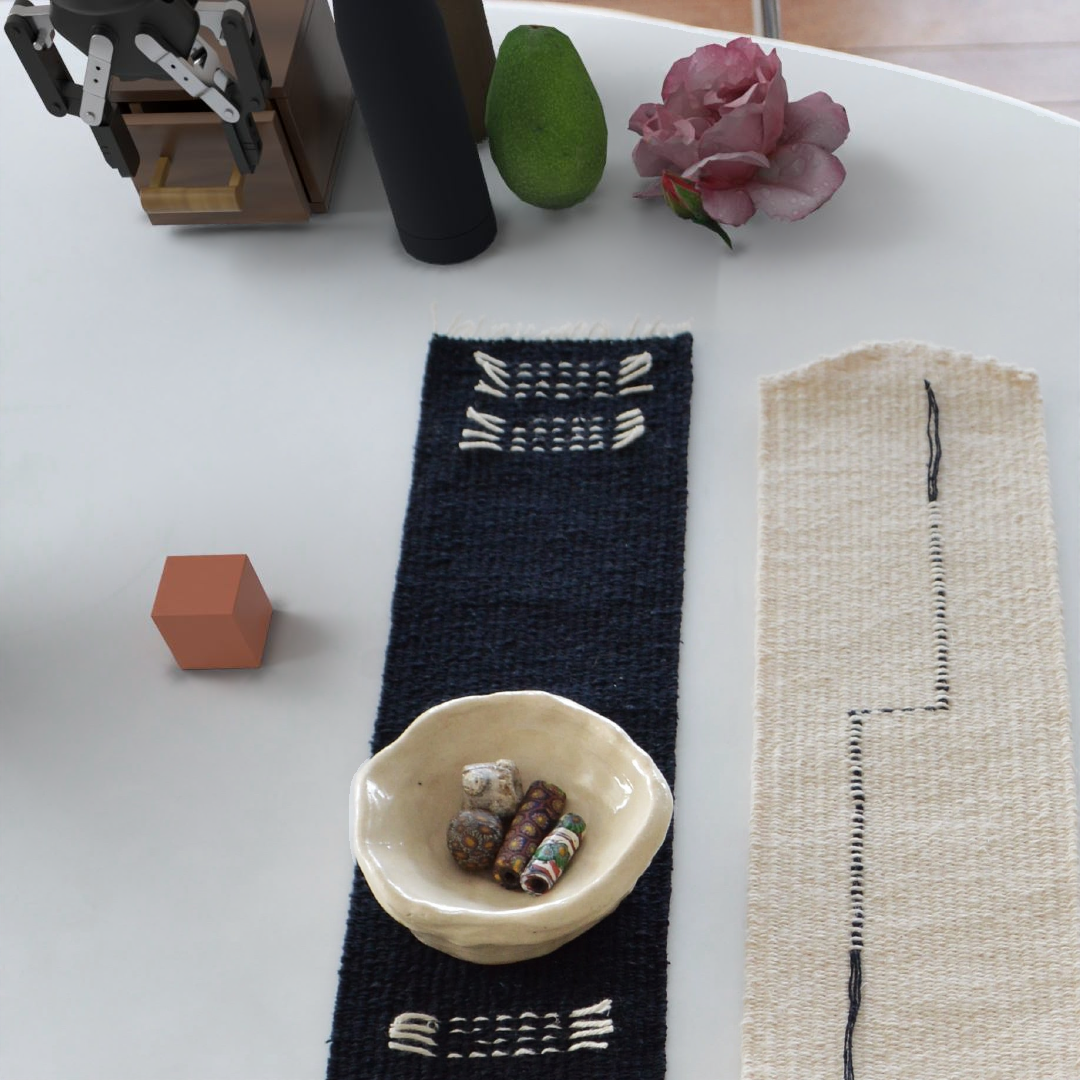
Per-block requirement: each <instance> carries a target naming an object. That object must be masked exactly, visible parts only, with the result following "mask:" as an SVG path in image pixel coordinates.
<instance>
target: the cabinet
mask: <svg viewBox="0 0 1080 1080" xmlns="http://www.w3.org/2000/svg"><path fill="white" fill-rule="evenodd" d="M199 1H203V2H227V1H228V0H199ZM249 2H250V6H251V9H252V13H253V16H254V19H255V23H256V26H257V30H258V33H259V36H260V40H261V43H262V47H263V50H264V54H265V57H266V60H267V64H268V67H269V71H270V74H271V78H272V86H271V90H270V93H269V97H268V98H276V102H277V105H278V108H279V111H280V113H281V116H282V119H283V122H284V125H285V128H286V130H287V133H288V136H289V139H290V142H291V144H292V147H293V150H294V153H295V156H296V159H297V161H298V164H299V167H300V170H301V173H302V175H303V178H304V181H305V187H304V192H305V195H306V197H307V200H308V203H309V206H310V209H311V214H316V213H317V214H320V213H327V212H328V209H329V205H330V201H331V196H332V192H333V188H334V184H335V180H336V176H337V172H338V169H339V164H340V159H341V155H342V153H343V149H344V144H345V139H346V135H347V132H348V127H349V123H350V118H351V114H352V109H353V106H354V102H355V99H356V97H355V94H354V91H353V87H352V84H351V81H350V78H349V75H348V72H347V68H346V65H345V62H344V59H343V56H342V52H341V49H340V46H339V43H338V40H337V35H336V28H335V22H334V15H333V13H332V11H331V7H330V4H329V1H328V0H249ZM198 35H199V36H200V37H201V38H202V39H203V40H204V41H205V42H206V43H208V44H209V45H210V46H211V47H212V48H213V49H214V50H215V52H216V53H217V54H218V56H219V59H220V62H221V63H222V65H223V66H224V67H225V68H226V69H227V70H228V71H229V72H230V73H231V74H232V75H233V76H234V77H235V78H236V79H237V76H236V73H235V69H234V66H233V63H232V60H231V56H230V53H229V50H228V47H227V46H221V45H220V44H219V42H218V40H217V38H216V37H215V35H214V33H213V32H212V30H210V29H209V28H208V27H206V26H202V25H200V28H199V31H198ZM187 62H188V63H189V64H190V65H191V66H192V67H193V68H194V62H193V60H192V58H191V57H190V56H189V58H188V61H187ZM237 80H238V79H237ZM177 100H202V99H201V98H200V97H193V96H191V95H190V94H189V93H188V92H187V91H186V90H185V89H184V88H183V87H182V86H181V85H180V84H179V83H178V82H177V81H176V80H174V79H173V81H159V80H154V79H149V78H143V79H140V80H136V81H129V82H121V81H120V79H119V77H116V76H114V78H113V83H112V88H111V94H110V98H109V101H110V103H111V105H118V107H119V109H120V112H121V114H132V111H131V109H130V107H129V104H128V103H129V102H132V101H177Z"/></svg>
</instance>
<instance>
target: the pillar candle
mask: <svg viewBox="0 0 1080 1080" xmlns="http://www.w3.org/2000/svg"><path fill="white" fill-rule="evenodd" d="M437 2H438V4H439V7H440V9H441V11H442V14H443V16H444V20H445V24H446V28H447V32H448V36H449V40H450V43H451V47H452V51H453V55H454V59H455V63H456V67H457V71H458V75H459V78H460V82H461V86H462V90H463V94H464V98H465V102H466V106H467V110H468V113H469V117H470V121H471V125H472V129H473V133H474V137H475V141H476V144H478V143H480V142H482V141H484V140H485V139H487V138H488V136H487V131H486V126H485V113H486V103H487V95H488V91H489V87H490V83H491V79H492V75H493V72H494V68H495V64H496V60H497V56H496V52H495V49H494V44H493V38H492V36H491V32H490V27H489V24H488V19H487V15H486V11H485V6H484V1H483V0H437Z"/></svg>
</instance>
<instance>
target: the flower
mask: <svg viewBox="0 0 1080 1080" xmlns="http://www.w3.org/2000/svg"><path fill="white" fill-rule="evenodd" d="M660 96H661V100H662V103H659V102H657V103H654V102H645V103H641V104H640V105H639V106H638V107H637V108H636V109H635V111H634V112H633V113H632V114H631V116H630V117H629V120H628V127H627V130H628V131H631V132H633V133H636V134H637V135H638V136H640V138H639V140H638V141H637V143H636V144H635V145H634V148H633V150H632V151H631V159H632V164H633V165H634V167H635V169H636V171H637V173H638V175H639V177H640V178H656V177H657V178H656V179H655V180H654V181H653V182H652V183H651V184H650V185H649V186H648V188H647V189H646V190H640V191H637V192H633V193H631V196H632V197H631V198H632V199H637V200H638V199H639V200H645V199H646V200H647V199H662V198H664V201H665V204H666V207H669V208H670V209H671V210H672V212H673V213H674V214H675V215H676V216H677V217H678V218H680V219H682V220H683V221H689V220H691V221H692V223H694V224H697V225H700V226H703V227H705V228H706V229H708V230H710V231H712V232H714V233H716V234H717V235H718V236H719V237H720V238H721V239H722V241H723V242H724V243H725V244H726V245H727V246H728V247H729V248H730V249H731V251H732V252H733V251H734V249H733V245H732V240H731V239H730V237H729V234H728V233H727V232H726V231H725V230H724V229H723V227H721V225H720V223H721V224H723V225H726V226H727V225H728V226H731V227H734V228H735V229H736V228H740V227H741V226H745V225H746V224H747V223H748V221H749V220H750V219H751V218H753V217H754V216H755V214H756V213H757V211H758V210H759V211H761V212H762V213H764V215H765V216H766V217H768V218H769V219H770V220H772V221H779V222H783V223H788V224H791V223H794V222H797V221H801V220H804V219H805V218H807V217H808V216H809V215H812V213H814V212H816V211H818V210H819V209H820V208H821V207H822V206H823V205H824V204H825V203H827V202H829V201H831V199H832V197H833V196H834V194H835V193H836V192H837V191H838V189H840V187H842V185H843V184H844V182H845V179H846V177H847V172H846V169H845V166H844V164H843V163H842V162H841V160H840V159H839V158H838V156H837V155H834V154H833V153H834V152H835V151H837V150H838V149H839V148H840V147H842V146H843V145H844V144H845V141H846V140H847V139H848V135H849V133H850V132H851V127H850V123H849V119H848V114H847V110H846V108H845V106H844V105H842V104H841V103H838V102H834V100H833V99H832V97H831V96H830V95H829V94H828V93H827V92H825V91H822V90H819V91H817V92H813V93H812V94H809V95H807V96H805V97H802V98H801V99H799V100H795V101H789V91H788V86H787V80H786V79H785V78H784V76H783V65H782V61H781V59H780V57H779V55H778V54H777V48H776V47H773V48H772V49H771V51H770V52H769V54H768V55H767V54H766V52H765V51H764V50H763V49H762V47H761V45H759V43H758V42H753V41H752V37H750V36H749V37H747V36H740V37H737V38H734V39H732V40H731V41H729V42H726V46H723V45H722V44H718V43H711V44H710V43H709V44H705V45H703V46H699V47H696V48H695V51H694V52H693V53H692V54H691V55H690V56H686V57H681V58H679V59H677V60H675V61H674V62H673V64H672V65H671V66H670V69H669V70H668V72H667V73H666V75H665V77H664V80H663V82H662V87H661V91H660Z"/></svg>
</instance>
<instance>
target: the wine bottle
mask: <svg viewBox="0 0 1080 1080" xmlns="http://www.w3.org/2000/svg"><path fill="white" fill-rule="evenodd" d="M331 1H332V2H331V3H332V12H333V13H332V15H333V20H334V23H335V28H336V35H337V40H338V43H339V46H340V49H341V52H342V56H343V59H344V62H345V65H346V68H347V72H348V75H349V78H350V81H351V84H352V87H353V91H354V94H355V100H356V103H357V106H358V110H359V113H360V116H361V119H362V122H363V126H364V128H365V131H366V135H367V139H368V141H369V145H370V147H371V151H372V155H373V158H374V160H375V163H376V166H377V170H378V173H379V176H380V179H381V183H382V186H383V189H384V193H385V195H386V198H387V203H388V205H389V208H390V212H391V215H392V218H393V222H394V224H395V227H396V231H397V233H398V237H399V239H400V243H401V245H402V246H403V248H404V251H406V253H407V254H409V255H410V256H411V257H413V258H414V259H416V260H418V261H421V262H423V263H427V264H434V265H451V264H458V263H462V262H465V261H468V260H471V259H474V258H475V257H477V256H478V255H480V254H482V253H483V252H485V251H486V250H487V249H488V248H489V247H490V246H491V245H492V244H493V242H494V241H495V238H496V236H497V233H498V223H497V219H496V215H495V211H494V207H493V203H492V199H491V195H490V192H489V188H488V184H487V180H486V175H485V172H484V168H483V165H482V161H481V156H480V152H479V149H478V145H477V144H478V143H476V141H475V137H474V133H473V129H472V125H471V121H470V117H469V113H468V110H467V106H466V102H465V98H464V94H463V90H462V86H461V82H460V78H459V75H458V71H457V67H456V63H455V59H454V55H453V51H452V47H451V43H450V40H449V36H448V32H447V28H446V24H445V20H444V16H443V14H442V11H441V9H440V7H439V4H438V2H437V0H331Z"/></svg>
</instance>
